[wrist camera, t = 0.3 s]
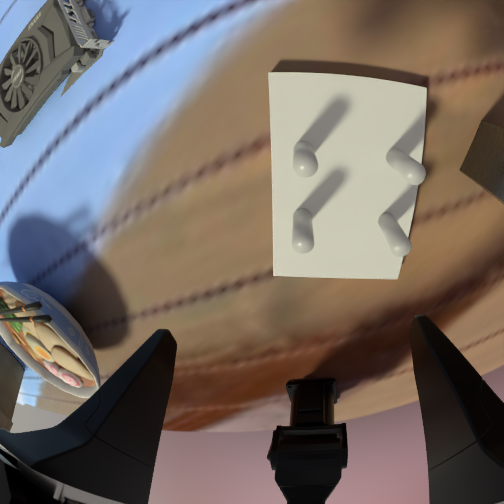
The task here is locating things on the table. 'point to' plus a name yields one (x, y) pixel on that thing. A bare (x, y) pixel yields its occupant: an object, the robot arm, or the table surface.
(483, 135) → the block
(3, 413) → the plant pot
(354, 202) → the pin tray
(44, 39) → the graphics card
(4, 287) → the ramen bowl
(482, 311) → the table surface
